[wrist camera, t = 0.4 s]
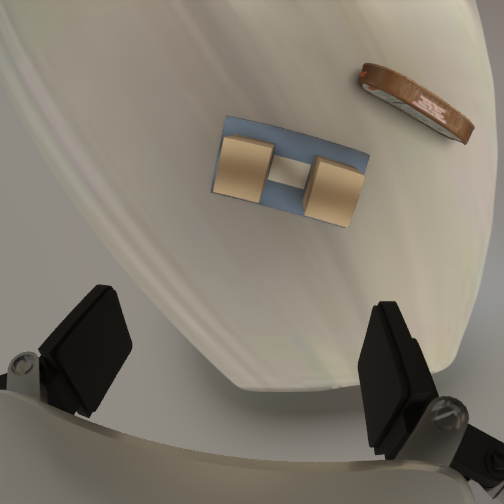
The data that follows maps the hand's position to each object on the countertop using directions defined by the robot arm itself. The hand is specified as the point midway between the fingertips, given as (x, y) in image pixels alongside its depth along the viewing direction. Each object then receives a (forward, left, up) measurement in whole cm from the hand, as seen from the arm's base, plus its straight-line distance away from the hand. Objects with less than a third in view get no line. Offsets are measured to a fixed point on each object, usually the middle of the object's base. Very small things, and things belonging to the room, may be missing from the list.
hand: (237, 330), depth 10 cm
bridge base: (-1, +1, -29) cm, 29 cm away
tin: (-14, +13, -29) cm, 35 cm away
